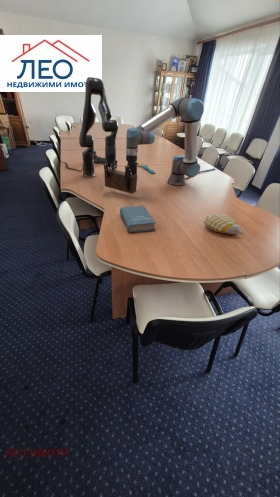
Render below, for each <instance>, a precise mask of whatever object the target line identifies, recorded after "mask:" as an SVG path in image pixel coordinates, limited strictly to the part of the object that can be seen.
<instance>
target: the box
mask: <svg viewBox="0 0 280 497" xmlns="http://www.w3.org/2000/svg"><path fill="white" fill-rule="evenodd" d="M108 171H109V169H108ZM103 172H104V187H106V188H110V189H113V190H115V191H120V192H124V193H128V194H130V195H133V194H134V193H136V192H137V187H138V174H137V175H134V174H132V173H131V176H130V190H128V189H126V182H127V181H126V180H125V171H122V170H118V169H115V170H114V169H112V168H111V170H110V178H107V173H106V172H105V171H103Z"/></svg>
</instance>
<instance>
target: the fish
mask: <svg viewBox="0 0 280 497" xmlns="http://www.w3.org/2000/svg"><path fill="white" fill-rule="evenodd" d="M203 223H204V225H205V226H206V227H207V228H208V229H210V230H212V231H214V232H217V233H222V234H227V235H237V234H239V235H244V234H245V233H244V232H243V231H242V229H241V227H240V225H239V224H238V222H237V219H236V218H235V217H232V216H230V215H229V214H228V213H216V214H210V215H207V216H206V218H205V219H204V220H203Z"/></svg>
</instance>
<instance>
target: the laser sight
mask: <svg viewBox="0 0 280 497" xmlns="http://www.w3.org/2000/svg"><path fill="white" fill-rule="evenodd" d="M93 157H94V164H103V165H104V164H106V162H107V160H106V159H105V157H101V156H98V154H97V151H96V150H94V153H93Z"/></svg>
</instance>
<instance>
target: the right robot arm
mask: <svg viewBox="0 0 280 497" xmlns="http://www.w3.org/2000/svg"><path fill="white" fill-rule="evenodd" d="M204 111H205V108H204V103H203V102H202V100H200V99H198V98H196V97H181V98H178V99H176V100H174V101H172V102H171V103H169V104H167V106H166V108H164V109H163V110H161V111H159V112H158V113H157V114H155V115H153V116H152V117H150V118H149V119H147V120H146V121H144V122H142V123H141V124H140V125H138V126H136V127H129V128H127V129H126V136H125V138H126V145H125V146H126V148H125V154H126V155H125V161H126V162H127V165H124V172H125V180H126V181H127V182H126V189H128V190H130V176H131V174H134V175H137V176H138V162H137V161H138V152H139V150H138V147H139V146H140V145H153V144H154V143H155V140H156V139H155V138H156V136H155V133H154V132H153V131H154V130H156V129H158V128H160V127H161V126H162V125H164V124H165V123H167V122H168V121H170V120H175V119H176V118H180V117H181V118H182V123H183V124H184V155H174V156H173V158H172V164H171V172H170V174H169V177H168V179H167V183H168V184H169V185H172V186H177V187H178V186H179V187H181V186H185V185H186V180H188V179H190V178H195V177H196V176H197V175H198V174H199V173H205V172H209V171H214V170H215V168H211V169H205V170H201V165H200V164H199V163H198V161H199V160H198V157H197V135H198V123H199V122H200V119H201V118H202V116H203V115H204ZM185 176H186V177H185Z"/></svg>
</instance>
